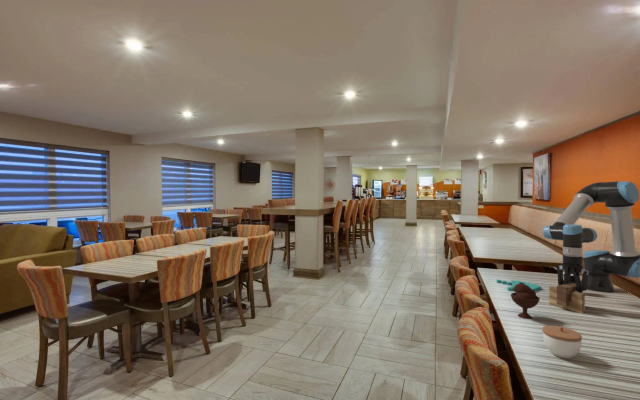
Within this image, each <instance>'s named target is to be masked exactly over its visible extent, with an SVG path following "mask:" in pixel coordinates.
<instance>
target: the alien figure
mask: <svg viewBox="0 0 640 400" xmlns="http://www.w3.org/2000/svg"><path fill="white" fill-rule="evenodd" d="M495 281H496V284H502V285H507V287H506V288H507V289H506V290H507V291H508V292H513V291H514V287H515V285H517V284H525V285H527V286H528V287H529V288H531V289H533V290H534V291H535V292H536V293H537V292H538V291H540V290H541V291H542V286H540V285H539V284H536V283H531V282H525V281H521V280H514V279H513V280H511V281H507V280H501V279H496V280H495Z"/></svg>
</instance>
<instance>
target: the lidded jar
mask: <svg viewBox="0 0 640 400" xmlns="http://www.w3.org/2000/svg"><path fill="white" fill-rule="evenodd" d="M541 329H542V339H543V343H544V345H545V347H546V348H547V349H548V350H549V351H550V354H552V355H554V356H556V357H558V358H562V359H567V360H568V359H573V357H575V356H577V355H578V354H579V352H580V351H581V348H582V339H583V336H582V335H581V334H580V332H578V331H576V330H574V329H571V328H569V327H568V328H567V327H564V326H561V325H560V326H557V325H545V326H542V328H541Z"/></svg>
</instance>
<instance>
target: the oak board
mask: <svg viewBox="0 0 640 400" xmlns="http://www.w3.org/2000/svg"><path fill="white" fill-rule="evenodd" d="M548 291H549V293H548V294H549V297H548V298H549V300H548V301H549V305H551V306H555V307H556V308H557V307H558V308H561V309H565V310H569V311H572V312H576V313H580V314H585V311H586V309H585V304H586V303H585V302H586V300H585V299H586V297H585V296H586V295H585V293H584V292H583V293H579V292H575V291H574V292H571V300H569V306H567V307H566V306H562V305H558V304H557V286H553V285H551V286H549V289H548Z"/></svg>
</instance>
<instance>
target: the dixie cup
mask: <svg viewBox="0 0 640 400" xmlns="http://www.w3.org/2000/svg"><path fill="white" fill-rule="evenodd" d="M564 276H565V271H563V277H564ZM570 283H575V278H574V276H573V274H571V275H570V278H569V282H568V284H570Z"/></svg>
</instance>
